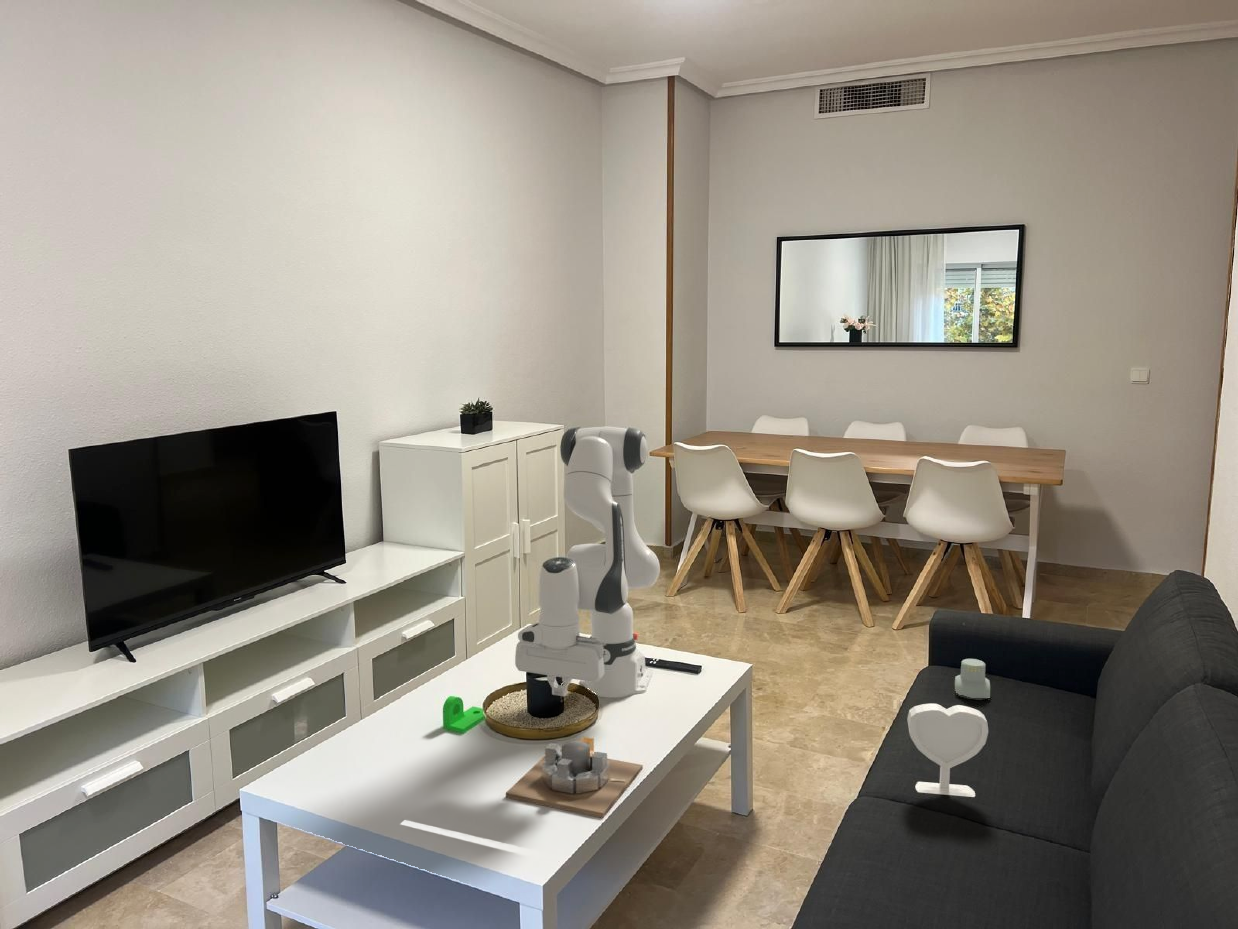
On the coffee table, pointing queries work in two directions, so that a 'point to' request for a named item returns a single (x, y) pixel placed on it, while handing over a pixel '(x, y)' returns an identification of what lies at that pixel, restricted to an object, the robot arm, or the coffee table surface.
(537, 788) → the base plate
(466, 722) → the mechanical part
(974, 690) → the air freshener
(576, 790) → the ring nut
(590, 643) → the robot arm
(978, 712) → the heart sculpture
